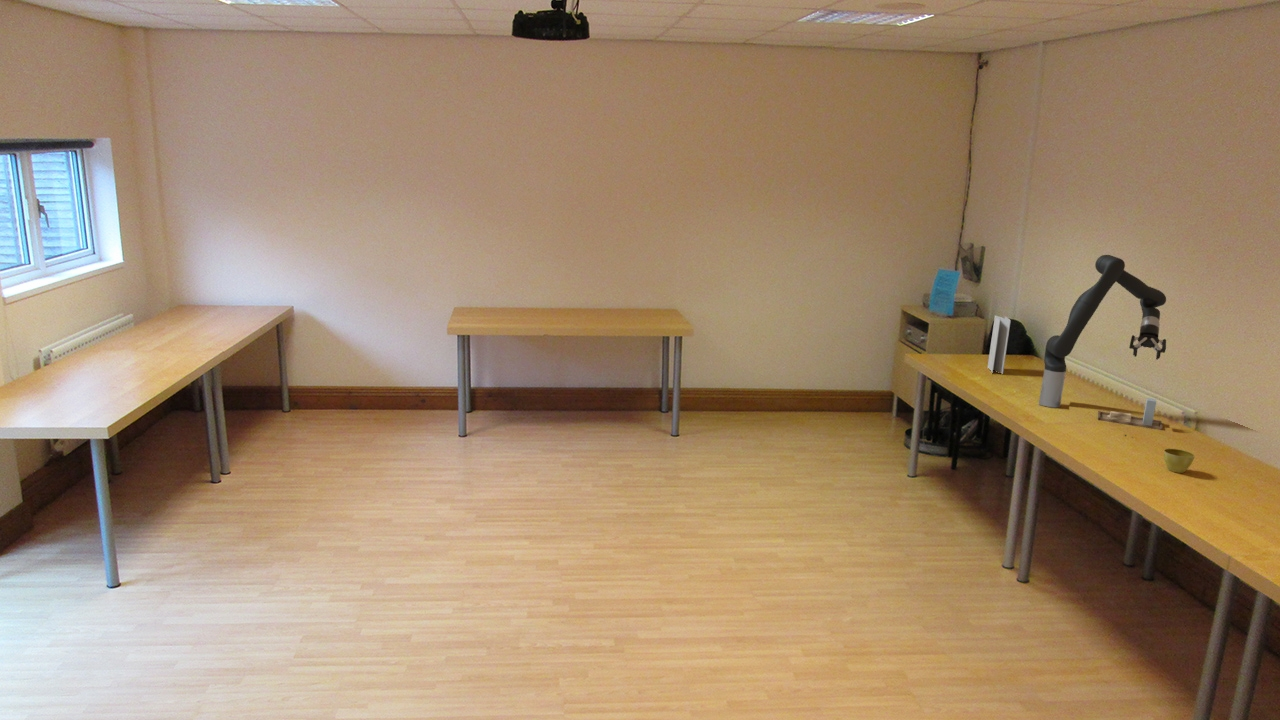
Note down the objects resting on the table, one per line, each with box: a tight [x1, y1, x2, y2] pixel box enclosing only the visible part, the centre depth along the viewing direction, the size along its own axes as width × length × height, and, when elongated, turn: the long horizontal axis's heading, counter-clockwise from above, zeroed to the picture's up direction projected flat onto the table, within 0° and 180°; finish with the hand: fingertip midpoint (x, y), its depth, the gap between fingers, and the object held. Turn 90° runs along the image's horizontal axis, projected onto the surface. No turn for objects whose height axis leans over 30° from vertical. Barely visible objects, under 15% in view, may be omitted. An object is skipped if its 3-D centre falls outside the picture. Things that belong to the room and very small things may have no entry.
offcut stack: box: [1107, 410, 1132, 422], centre depth 389 cm, size 9×4×4 cm, turn 63°
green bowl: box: [1163, 448, 1196, 474], centre depth 331 cm, size 10×10×7 cm
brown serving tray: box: [1097, 410, 1164, 431], centre depth 391 cm, size 25×13×2 cm, turn 63°
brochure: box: [987, 314, 1012, 375], centre depth 480 cm, size 14×6×30 cm, turn 168°
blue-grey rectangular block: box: [1142, 397, 1157, 426], centre depth 388 cm, size 3×5×11 cm, turn 153°
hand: (1146, 357), depth 396 cm, fingers open, 8 cm apart
